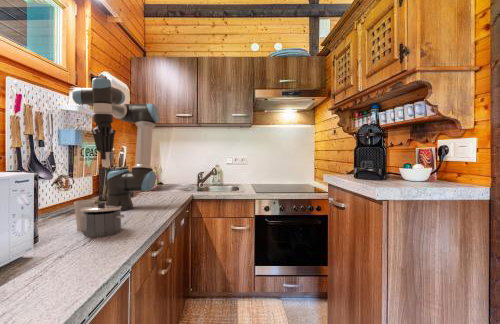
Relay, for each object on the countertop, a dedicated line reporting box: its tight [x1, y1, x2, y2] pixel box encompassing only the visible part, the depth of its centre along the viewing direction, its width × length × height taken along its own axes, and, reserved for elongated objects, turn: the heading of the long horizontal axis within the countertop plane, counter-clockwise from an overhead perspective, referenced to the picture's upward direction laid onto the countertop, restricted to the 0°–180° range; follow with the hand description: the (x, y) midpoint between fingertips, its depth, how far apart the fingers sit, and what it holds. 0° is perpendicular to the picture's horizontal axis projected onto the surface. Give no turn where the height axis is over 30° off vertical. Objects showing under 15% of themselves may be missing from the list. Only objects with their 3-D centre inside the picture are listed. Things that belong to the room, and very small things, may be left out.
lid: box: [81, 202, 121, 212], centre depth 115 cm, size 16×15×3 cm
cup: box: [73, 199, 96, 232], centre depth 122 cm, size 8×8×12 cm
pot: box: [81, 209, 125, 239], centre depth 116 cm, size 15×19×10 cm
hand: (105, 166), depth 125 cm, fingers closed
